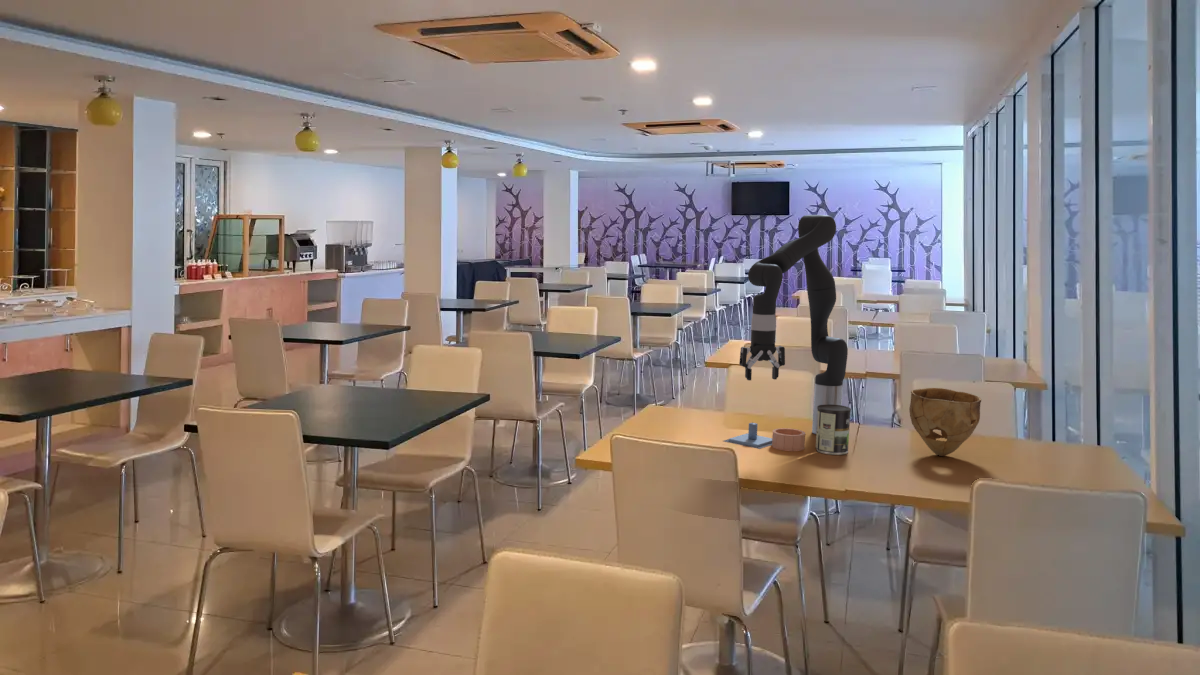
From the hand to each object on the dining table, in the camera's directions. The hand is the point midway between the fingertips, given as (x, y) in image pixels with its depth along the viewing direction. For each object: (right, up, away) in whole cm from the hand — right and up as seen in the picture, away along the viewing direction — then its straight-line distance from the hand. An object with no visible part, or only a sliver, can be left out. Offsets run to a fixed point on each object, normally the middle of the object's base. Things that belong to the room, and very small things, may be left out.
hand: (761, 379), depth 292 cm
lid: (-1, -21, +11) cm, 23 cm away
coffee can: (+23, -23, +4) cm, 33 cm away
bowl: (+57, -24, +1) cm, 62 cm away
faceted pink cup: (+9, -22, +5) cm, 25 cm away
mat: (-1, -21, +11) cm, 24 cm away
